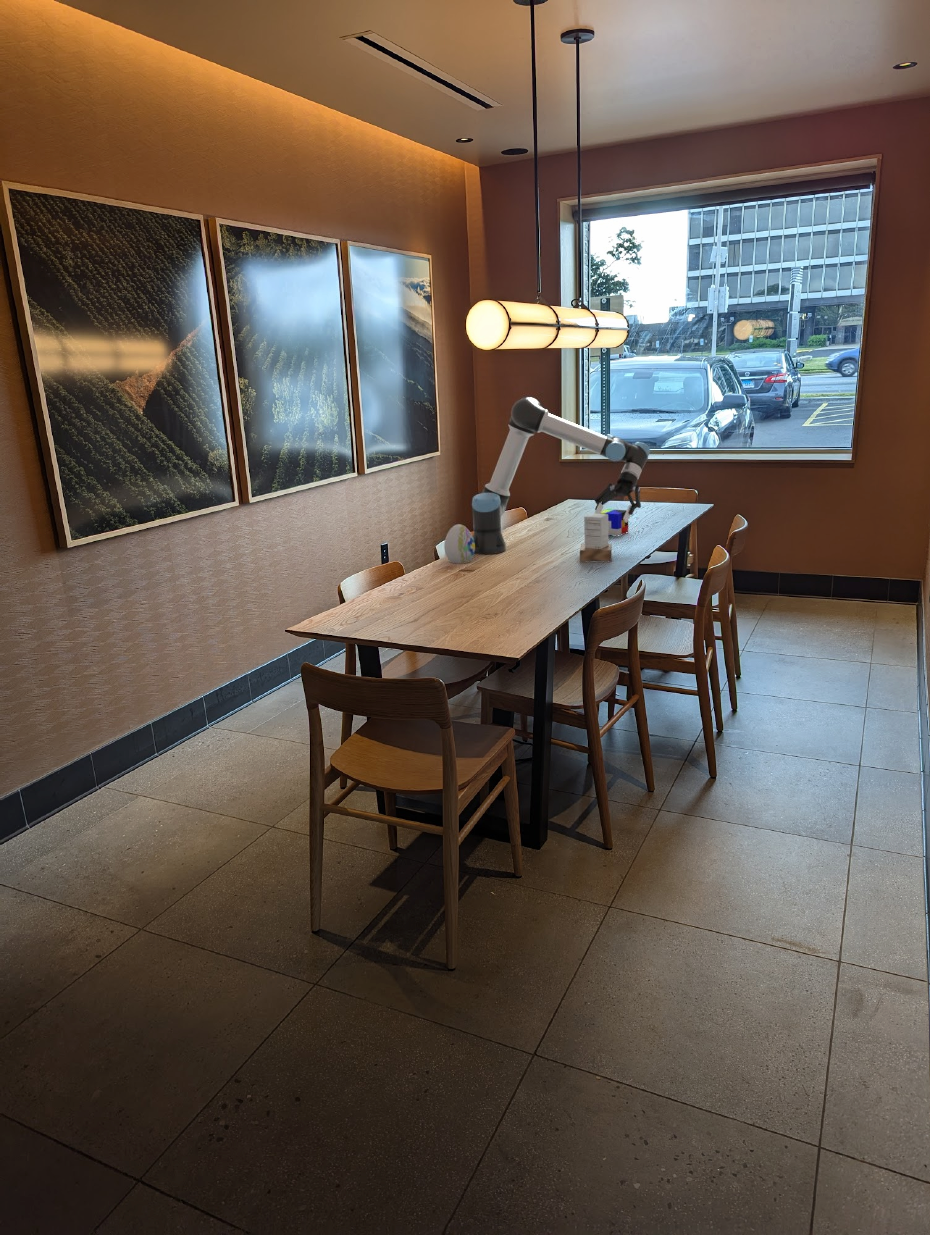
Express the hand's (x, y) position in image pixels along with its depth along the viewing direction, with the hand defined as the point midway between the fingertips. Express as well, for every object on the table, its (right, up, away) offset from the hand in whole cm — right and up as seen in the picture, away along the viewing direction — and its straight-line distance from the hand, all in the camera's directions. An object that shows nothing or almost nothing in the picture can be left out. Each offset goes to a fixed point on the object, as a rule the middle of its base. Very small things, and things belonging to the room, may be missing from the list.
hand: (610, 519), depth 335 cm
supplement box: (-6, -12, -5) cm, 14 cm away
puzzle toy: (+8, -2, +41) cm, 42 cm away
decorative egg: (-60, -17, +2) cm, 62 cm away
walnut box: (-6, -16, -4) cm, 18 cm away
